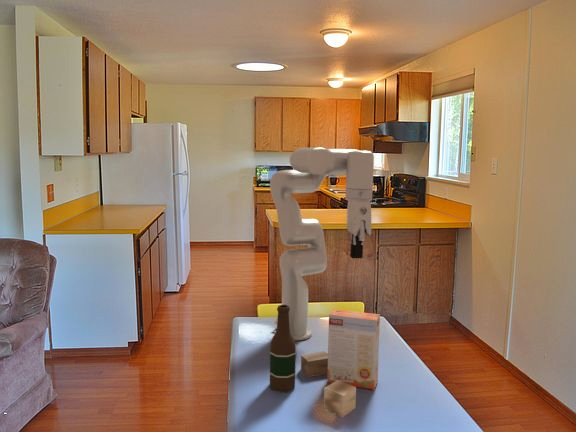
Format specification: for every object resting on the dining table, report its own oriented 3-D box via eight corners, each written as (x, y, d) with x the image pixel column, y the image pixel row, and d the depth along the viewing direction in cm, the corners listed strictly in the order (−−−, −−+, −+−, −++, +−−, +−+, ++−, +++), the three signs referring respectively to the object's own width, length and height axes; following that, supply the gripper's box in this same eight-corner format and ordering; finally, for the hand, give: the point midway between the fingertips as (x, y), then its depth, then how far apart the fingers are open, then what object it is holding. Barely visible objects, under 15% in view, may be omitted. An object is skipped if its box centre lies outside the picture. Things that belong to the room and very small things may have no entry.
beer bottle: (265, 382, 145) (265, 303, 142) (290, 378, 148) (291, 300, 144) (274, 395, 138) (274, 312, 134) (300, 390, 141) (301, 309, 137)
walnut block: (300, 370, 154) (301, 354, 153) (324, 366, 157) (324, 351, 156) (307, 377, 149) (307, 361, 148) (331, 373, 152) (331, 357, 151)
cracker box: (378, 381, 147) (380, 313, 144) (374, 391, 141) (377, 320, 138) (332, 373, 151) (333, 307, 148) (326, 382, 146) (328, 313, 143)
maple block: (323, 409, 131) (324, 387, 130) (336, 400, 136) (337, 379, 135) (342, 417, 127) (343, 395, 126) (355, 408, 132) (356, 387, 131)
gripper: (380, 197, 134) (377, 263, 137) (364, 191, 149) (361, 251, 152) (353, 197, 133) (350, 264, 136) (339, 191, 148) (337, 252, 151)
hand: (356, 257), depth 144 cm, fingers closed
